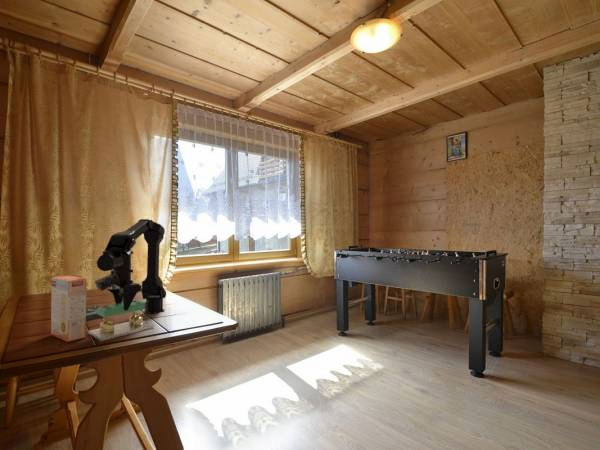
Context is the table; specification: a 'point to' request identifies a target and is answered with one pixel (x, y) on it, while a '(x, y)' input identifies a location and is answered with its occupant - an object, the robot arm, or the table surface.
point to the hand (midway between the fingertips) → (122, 308)
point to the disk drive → (92, 313)
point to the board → (120, 308)
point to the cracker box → (68, 308)
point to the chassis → (120, 327)
